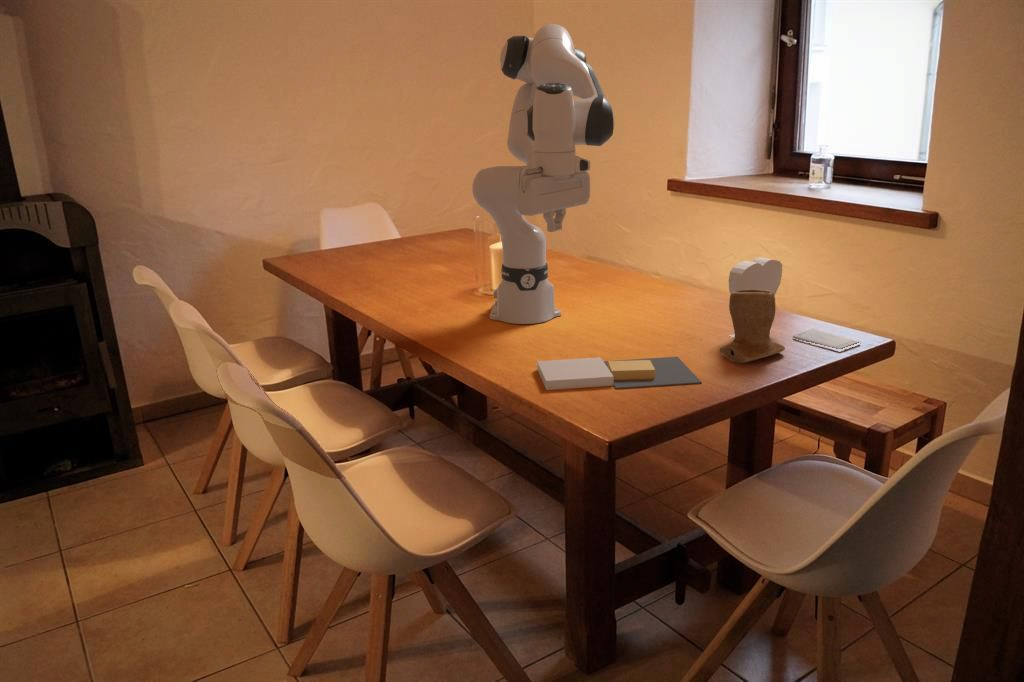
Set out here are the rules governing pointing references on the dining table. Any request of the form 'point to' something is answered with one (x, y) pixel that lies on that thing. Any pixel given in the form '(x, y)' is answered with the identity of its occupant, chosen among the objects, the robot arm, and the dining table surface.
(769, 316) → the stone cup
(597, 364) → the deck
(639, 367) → the yellow rectangular block
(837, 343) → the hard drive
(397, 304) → the dining table surface
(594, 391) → the dining table surface
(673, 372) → the mat
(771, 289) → the heart sculpture
